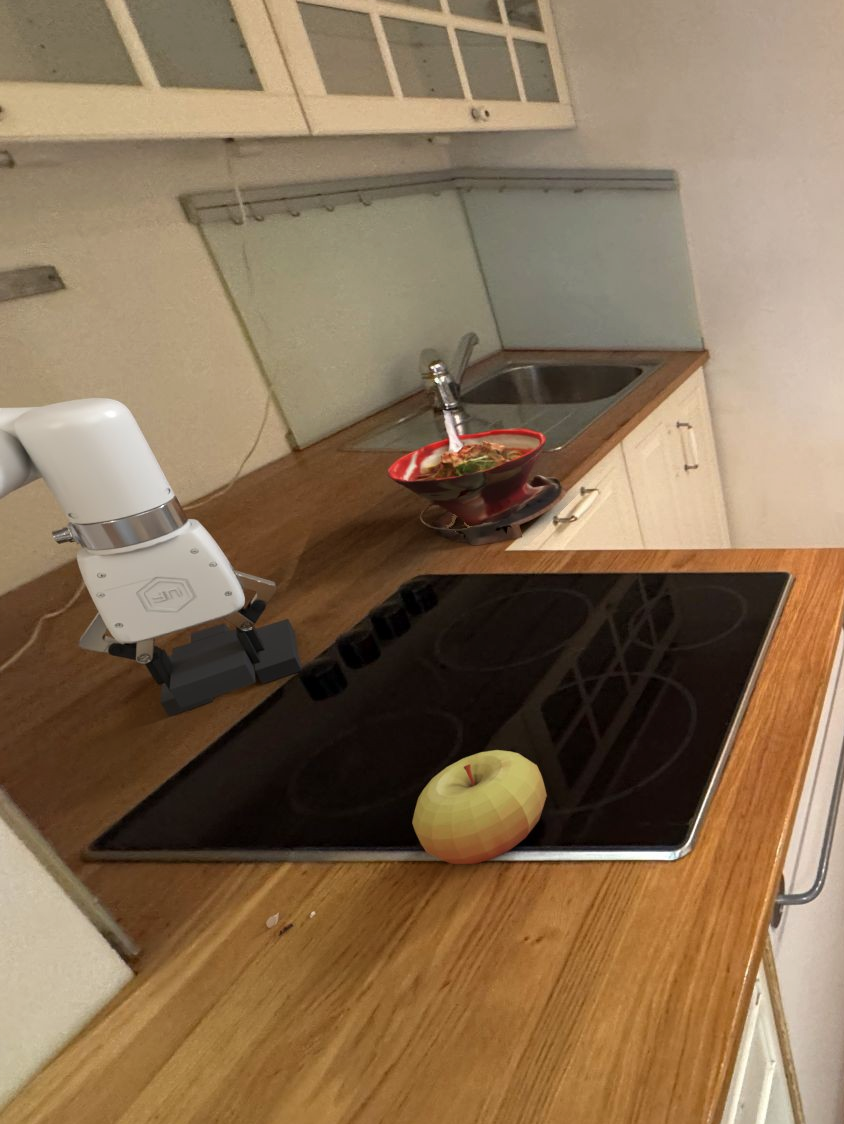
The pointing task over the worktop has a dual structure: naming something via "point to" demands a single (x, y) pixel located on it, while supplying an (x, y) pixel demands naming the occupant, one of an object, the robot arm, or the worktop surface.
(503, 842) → the apple
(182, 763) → the worktop surface
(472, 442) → the stew
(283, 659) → the base pad
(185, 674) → the dark grey beveled block
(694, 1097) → the worktop surface
